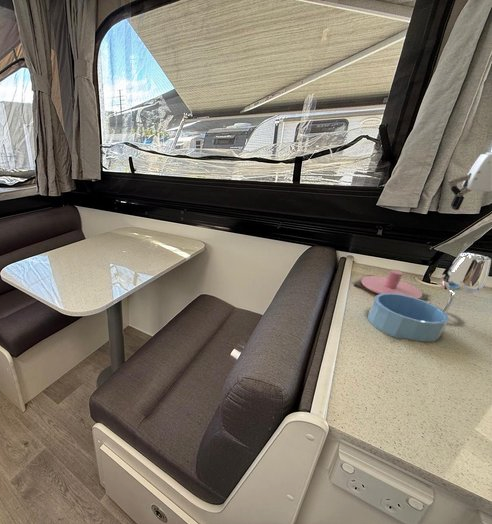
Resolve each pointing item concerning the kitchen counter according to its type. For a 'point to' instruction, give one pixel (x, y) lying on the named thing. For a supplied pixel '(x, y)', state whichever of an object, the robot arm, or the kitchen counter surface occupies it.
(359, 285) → the board
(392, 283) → the pink knobbed lid
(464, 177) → the robot arm
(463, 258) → the wineglass
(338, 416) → the kitchen counter surface
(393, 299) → the bowl
